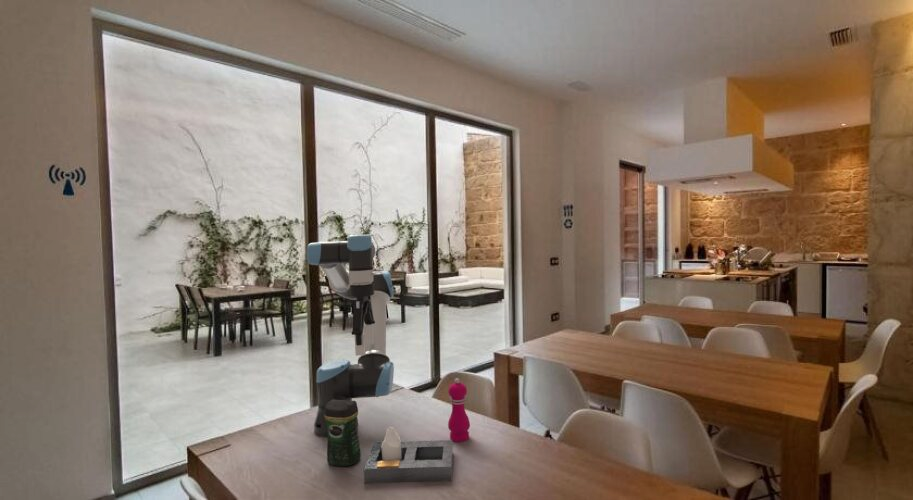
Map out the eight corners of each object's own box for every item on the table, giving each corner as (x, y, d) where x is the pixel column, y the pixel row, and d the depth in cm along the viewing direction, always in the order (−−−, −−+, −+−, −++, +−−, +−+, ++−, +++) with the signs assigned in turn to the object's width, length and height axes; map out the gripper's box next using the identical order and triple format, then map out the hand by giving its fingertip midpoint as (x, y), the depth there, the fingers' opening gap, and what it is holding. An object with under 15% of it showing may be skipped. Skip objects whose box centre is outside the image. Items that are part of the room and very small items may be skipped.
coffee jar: (364, 456, 144) (361, 397, 143) (351, 469, 136) (348, 407, 135) (337, 453, 147) (334, 395, 146) (322, 465, 139) (319, 404, 138)
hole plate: (375, 455, 144) (374, 441, 144) (452, 452, 144) (452, 438, 144) (364, 483, 128) (363, 467, 128) (451, 480, 128) (450, 465, 128)
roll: (391, 433, 132) (376, 429, 135) (393, 474, 132) (378, 470, 135) (404, 425, 137) (389, 421, 140) (406, 465, 137) (391, 460, 140)
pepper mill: (468, 443, 150) (465, 382, 149) (446, 442, 151) (443, 381, 150) (472, 433, 157) (469, 375, 156) (451, 432, 158) (448, 374, 157)
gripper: (365, 287, 135) (368, 359, 136) (380, 278, 160) (383, 339, 161) (339, 288, 135) (343, 360, 136) (358, 279, 160) (361, 340, 161)
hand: (365, 349), depth 149 cm, fingers open, 13 cm apart
